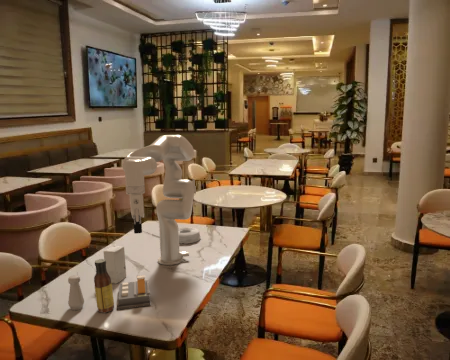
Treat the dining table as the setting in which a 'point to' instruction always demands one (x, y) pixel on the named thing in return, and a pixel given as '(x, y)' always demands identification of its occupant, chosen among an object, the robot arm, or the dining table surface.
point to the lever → (141, 284)
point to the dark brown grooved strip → (133, 305)
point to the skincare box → (115, 263)
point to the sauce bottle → (103, 287)
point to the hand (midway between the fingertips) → (138, 232)
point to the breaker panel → (132, 293)
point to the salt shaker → (75, 293)
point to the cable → (188, 235)
